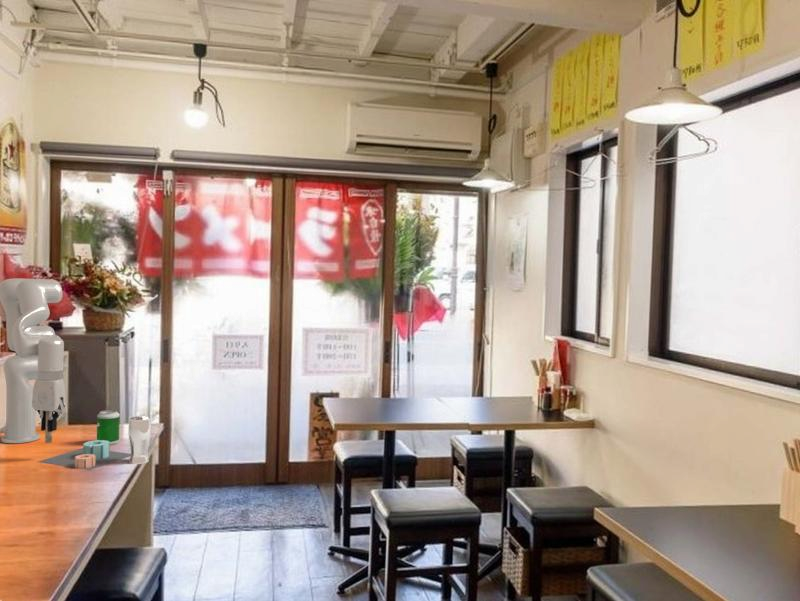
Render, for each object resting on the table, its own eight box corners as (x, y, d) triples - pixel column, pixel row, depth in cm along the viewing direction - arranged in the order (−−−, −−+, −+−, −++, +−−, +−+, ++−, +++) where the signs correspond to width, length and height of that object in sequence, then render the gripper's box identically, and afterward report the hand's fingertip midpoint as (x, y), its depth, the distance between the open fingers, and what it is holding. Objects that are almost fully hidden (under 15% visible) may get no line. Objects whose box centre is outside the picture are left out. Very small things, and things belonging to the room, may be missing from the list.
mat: (36, 463, 211) (36, 461, 211) (84, 448, 230) (84, 447, 230) (90, 471, 204) (90, 469, 204) (134, 455, 223) (134, 454, 223)
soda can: (123, 442, 240) (123, 410, 239) (112, 447, 232) (112, 414, 232) (104, 441, 241) (104, 409, 240) (92, 446, 233) (92, 413, 233)
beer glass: (123, 463, 213) (124, 418, 213) (140, 458, 220) (141, 414, 219) (137, 466, 210) (138, 421, 210) (154, 461, 216) (155, 417, 216)
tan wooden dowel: (43, 442, 213) (44, 406, 212) (48, 441, 215) (49, 405, 214) (48, 443, 212) (49, 407, 212) (53, 442, 214) (54, 406, 214)
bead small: (71, 468, 205) (71, 458, 205) (80, 462, 211) (80, 453, 211) (90, 468, 205) (90, 459, 205) (98, 463, 211) (98, 454, 211)
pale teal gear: (77, 457, 217) (78, 444, 217) (96, 452, 224) (96, 439, 224) (96, 460, 214) (97, 447, 214) (114, 454, 222) (114, 441, 222)
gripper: (22, 374, 211) (20, 429, 212) (59, 380, 206) (58, 436, 207) (41, 371, 218) (40, 424, 219) (78, 376, 213) (76, 431, 214)
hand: (48, 429), depth 213 cm, fingers closed on tan wooden dowel, 2 cm apart
